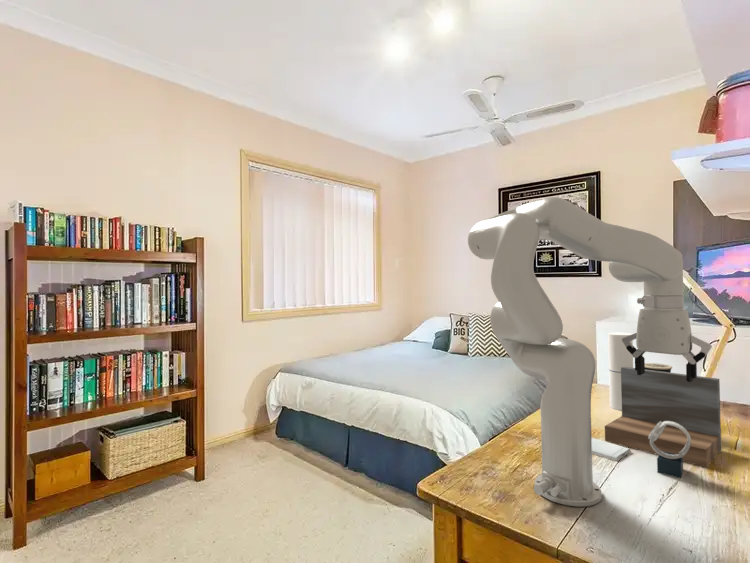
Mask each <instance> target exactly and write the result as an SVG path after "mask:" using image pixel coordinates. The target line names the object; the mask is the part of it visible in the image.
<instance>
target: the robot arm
mask: <svg viewBox="0 0 750 563" xmlns="http://www.w3.org/2000/svg"><path fill="white" fill-rule="evenodd" d="M540 240H541V241H542V240H547V241H550V242H553V243H554V244H556V245H558V246H560V247H562V248H563V249H565V250H567V251H569V252H570V253H573V254H575V255H576V256H579V257H581V258H583V259H587V260H592V261H599V262H607V263H608V271H609V273H610V275H611V276H612V277H613V278H614V279H616V280H618V281H620V282H624V283H643V295H642V297H638V298H637V299H636V303H637V304H639V305H642V307H643V308H640V309H639V311H638V312H639V313H638V319H637V327H636V332H634V333H631V334H632V335H629V336H627V337H624V338H622V341H623V343H624V345H625V346H626V349H627V350H628V351H629V352H630V353H631V354H632V355H633V359H634V368H635V370H636V371H637V375H642V374H644V373H645V361H646V358H645V357H644V356H643V355H644V354H645V353H655V354H666V355H674V356H675V355H676V356H677V355H678V356H682V357H684V359H685V360H686V361H687V363H686V365H685V370H686V371H685V372H686V380H687V381H688V382H692V381H693V380H694V378H696V377H697V376H698V373H697V372H698V370H697V368H698V366H697V365H698V364H697V363H699V362H701V360H703V359H705V357H707V355H708V354H709V352H710V351H711V349H712V347H713V345H712V344H711V343H708V342H706V341H705V340H702V339H701V338H698V337H697V336H694V335H692V328H691V322H690V316H689V312H688V310H687V309H684V270H683V269H684V268H683V267H684V260H683V254H682V253H681V251H680V250H677V248H675V247H674V246H673V245H671V244H670V243H668V242H667V241H665V240H664V239H662V238H660V237H658V236H656V235H654V234H651V233H649V232H645V231H641V230H638V229H633V228H629V227H624V226H621V225H617V224H613V223H612V224H611V223H607V222H605V221H603V220H601V219H599V218H597V217H596V216H594V215H592V214H591V213H589V212H588V211H586V210H584V209H582V208H580V207H579V206H578V205H575V204H574V203H572V202H571V201H569V200H567V199H564V198H561V197H557V196H550V197H545V198H542V199H538V200H534V201H531V202H527V203H524V204H521V205H519V206H516V207H513V208H512V209H511V208H510V209H509V210H507V211H503V212H502V213H499V214H496V215H494V216H490V217H488V218H485V219H482V220H481V221H478V222H476V223H475V225H473V227H471V229H470V231H469V233H468V236H467V244H468V248H469V250H470V252H471V253H472V255H474V256H475V257H477V258H479V259H482V260H493V262H492V266H491V274H490V284H491V290H492V291H493V294H494V296H495V298H496V299H497V302H496V303H495V304H494V305H493V307H492V309H491V311H490V315H489V316H490V317H489V318H490V320H489V321H490V326H491V331H492V332H493V334H494V336H495V338H496V339H497V340H498V342H499V344H500V345H501V347H503V349H504V350H505V352H506V353H507V355H508V356H509V358H510V359H511V361H512V362H513V363H514V364H515V366H516V367H517V369H519V371H521V372H522V373H523V374H525V375H528V376H530V377H532V378H536V379H540V380H542V381H544V382H547V385H546V388H545V390H544V391H543V394H542V396H541V401H540V430H541V431H540V435H541V438H540V439H541V469H542V470H541V474H540V475H538V476H536V478H535V479H534V486H533V491H534V493H535V494H536V495H538V496H542V497H544V498H545V499H548V500H549V501H551V502H554V503H557V504H560V505H564V506H569V507H591V506H594V505H596V504H598V503H600V502H601V500H602V497H603V496H602V489H601V488H600V486H599V485H598V484H596V483H595V482H594V481H593V479H594V477H593V454H592V438H593V436H592V413H591V412H592V410H591V409H592V403H591V402H592V389H593V385H594V384H593V383H594V380H595V379H594V377H595V373H596V359H595V358H596V357H595V356H594V354H593V352H592V351H591V349H590V348H588V346H587V345H585V344H583V343H581V342H579V341H576V340H573V339H570V338H569V339H568V338H563V337H561V336H562V334H563V330H564V324H563V320H562V318H561V316H560V314H559V312H558V310H557V309H556V307H555V305H554V304H553V302H552V301H551V300H550V298H549V297H548V295H547V293H546V292H545V290H544V289H543V287H542V285H541V284H540V282H539V281H538V279H537V276H536V274H535V271H534V260H535V256H536V252H537V247H538V244H539V241H540ZM632 340H633V341H634V340H635V341H636V342H635V344H636V347H635V346H634V344H633V345H632V343H631V341H632ZM693 344H694V345H696V346H698V347H699V348H701V349H700V351H699V352H698V353H696V354H694V353H693V351H692V350H693Z"/></svg>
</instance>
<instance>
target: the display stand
mask: <svg viewBox="0 0 750 563" xmlns="http://www.w3.org/2000/svg"><path fill="white" fill-rule="evenodd" d="M720 383H721V382H720V378H715V377H706V376H701V375H700V376H699V375H697V377H696V378H694V380H693V381H692V382H688V381H687V380H686V374H684V373H679V372H678V373H676V372H671V373H670V372H662V371H654V370H647V369H645V373H644V374H642V375H637V371H636V370H635V367H633V368H631V367H621V393H622V411H621V416H619V417H618V418H616V419H614V420H613V421H611V422H608V423H607V424H606V425H604V442H608V443H611V444H615V445H619V446H623V447H626V448H628V447H629V448H630V449H631V448H632V449H636V450H639V451H644V452H646V453H647V452H648V453H651V454H655V455H659V454H657V453H656V452H655V451H654V450H653V448H652V447H651V445H650V439H648V436H649V435H650V433H651V431H652V430H653V429H654V427H655V426H656V425H657V424H658V423H659V422H660V421H661V422H664V421H672V422H676V423H678V424H680V425H682V426H683V427H684V428H685V429H686V430H687V432H688V433H689V434H690V437H691V441H690V442H691V445H690V448H689V450H688V452H687V453H686V454H685V455H684V456H683V462H685V463H689V464H693V465H697V466H701V467H706V468H707V467H708V466H709V465H710V464H711V463H712V462H713V461H714V459H715V458H716V457H717V456H718V455H719V454H720V453H721V451H722V430H721V390H720V387H721V386H720ZM687 439H688V438H687V436H686V434H685V433H684V432H683V431H681V430H680V429H679V428H677V427H674V426H670V425H666V427H665V429H664V430H663V432H662V433H661V435H660V436H659V437H658V439H657V440H656V441H653V442H654V444H655V445H656V448H658V449H659V450H660V451H663V452H668V453H673V454H679V452H680V451H681V450H682V449H683V448H684V447H685V445H686V443H687ZM718 453H719V454H718ZM717 454H718V455H717ZM716 455H717V456H716ZM715 456H716V457H715ZM714 457H715V458H714ZM711 461H712V462H711ZM710 462H711V463H710ZM709 463H710V464H709Z"/></svg>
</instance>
